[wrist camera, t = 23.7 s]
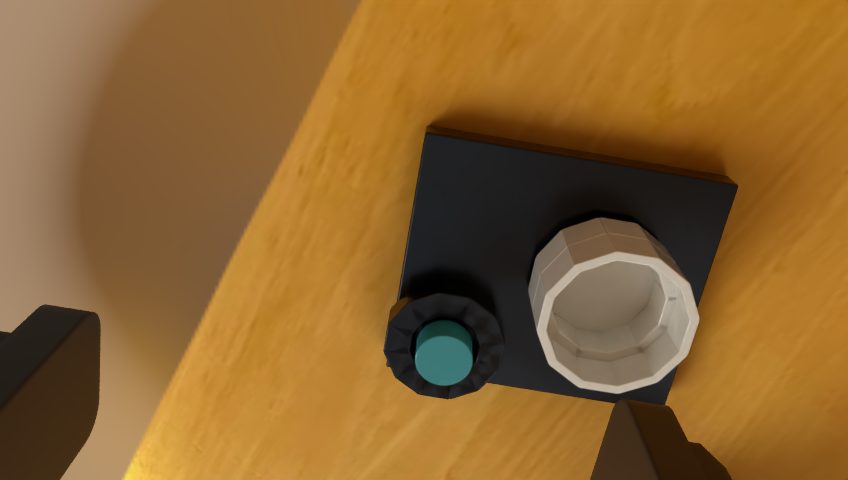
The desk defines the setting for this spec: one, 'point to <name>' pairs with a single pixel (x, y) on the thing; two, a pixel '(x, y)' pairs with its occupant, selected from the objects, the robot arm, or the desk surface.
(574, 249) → the bowl
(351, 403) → the desk surface
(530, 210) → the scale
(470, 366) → the power button
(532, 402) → the desk surface
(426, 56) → the desk surface
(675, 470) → the robot arm
